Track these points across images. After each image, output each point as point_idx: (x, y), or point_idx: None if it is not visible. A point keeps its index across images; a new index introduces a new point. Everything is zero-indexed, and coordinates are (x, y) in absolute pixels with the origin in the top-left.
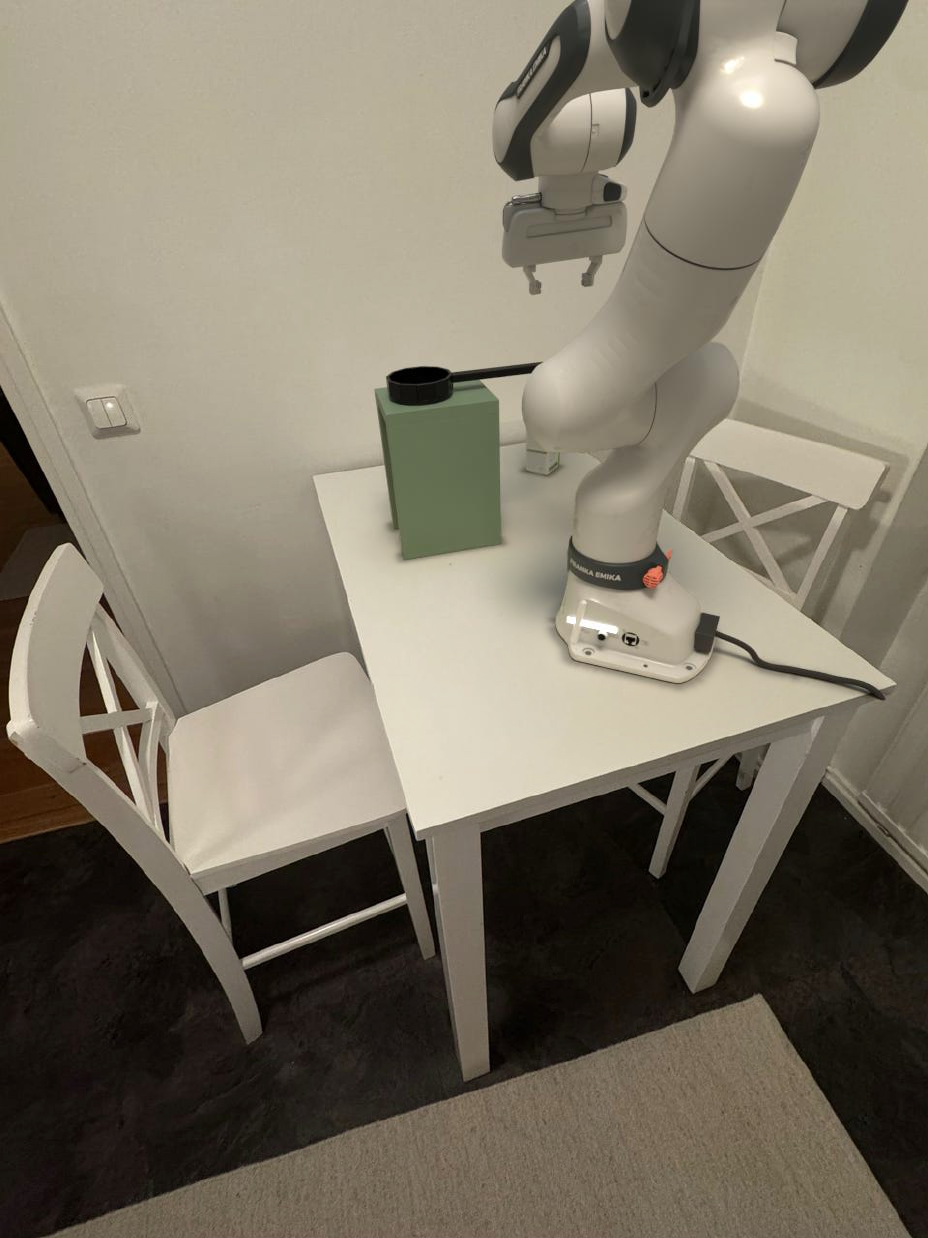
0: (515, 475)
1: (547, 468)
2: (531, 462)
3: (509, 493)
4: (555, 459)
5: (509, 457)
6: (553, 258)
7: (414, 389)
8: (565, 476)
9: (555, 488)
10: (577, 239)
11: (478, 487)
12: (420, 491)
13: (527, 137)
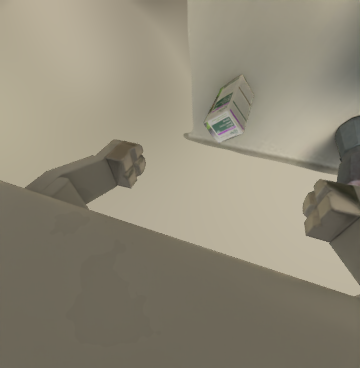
0: (269, 91)
1: (241, 77)
2: (249, 94)
3: (310, 48)
4: (226, 87)
5: (248, 128)
6: (303, 303)
7: None
8: (227, 63)
9: (254, 36)
10: (49, 353)
11: None
12: None
13: None
